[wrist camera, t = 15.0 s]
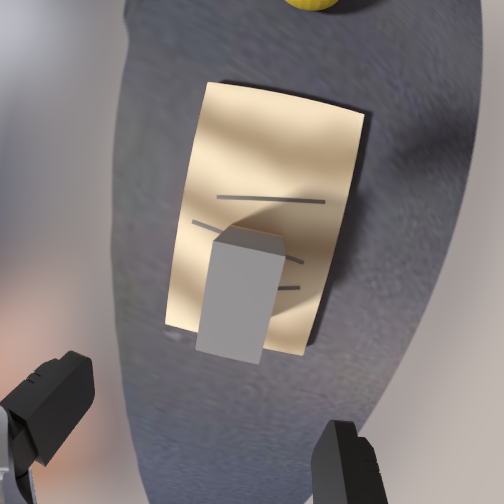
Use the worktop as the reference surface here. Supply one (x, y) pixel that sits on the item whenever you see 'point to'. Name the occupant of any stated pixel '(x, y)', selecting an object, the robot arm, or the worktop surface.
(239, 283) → the block
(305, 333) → the board
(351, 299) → the worktop surface
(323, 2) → the lemon
